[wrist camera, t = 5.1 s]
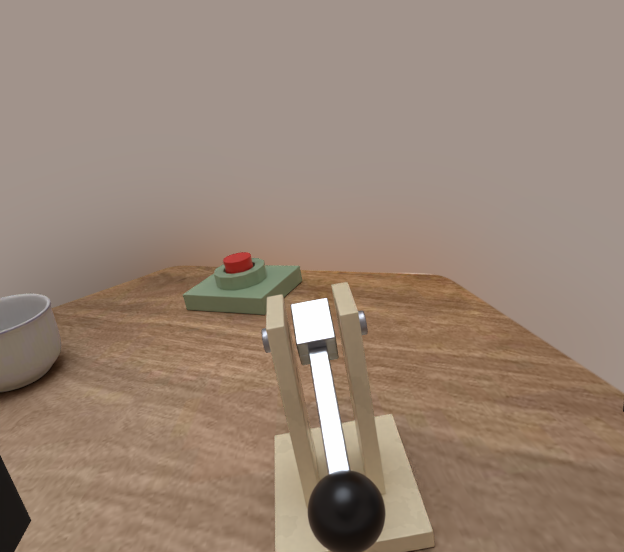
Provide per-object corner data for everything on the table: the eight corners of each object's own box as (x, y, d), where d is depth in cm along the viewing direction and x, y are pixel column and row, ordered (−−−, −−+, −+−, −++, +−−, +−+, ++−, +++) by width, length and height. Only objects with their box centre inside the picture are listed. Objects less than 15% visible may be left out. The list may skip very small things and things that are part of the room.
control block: (302, 280, 71) (297, 253, 70) (265, 314, 63) (258, 284, 61) (229, 278, 77) (223, 253, 75) (186, 309, 68) (179, 281, 67)
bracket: (435, 546, 30) (410, 333, 25) (279, 576, 30) (223, 368, 25) (393, 426, 40) (370, 258, 35) (277, 448, 40) (237, 282, 35)
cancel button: (258, 264, 69) (255, 252, 68) (243, 275, 66) (240, 262, 66) (236, 264, 71) (233, 252, 70) (220, 275, 68) (217, 262, 67)
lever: (393, 554, 25) (394, 536, 22) (318, 568, 25) (309, 552, 22) (342, 323, 33) (338, 288, 30) (286, 333, 33) (276, 300, 30)
